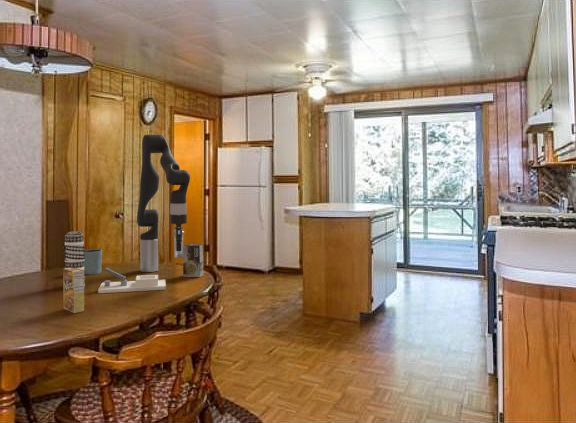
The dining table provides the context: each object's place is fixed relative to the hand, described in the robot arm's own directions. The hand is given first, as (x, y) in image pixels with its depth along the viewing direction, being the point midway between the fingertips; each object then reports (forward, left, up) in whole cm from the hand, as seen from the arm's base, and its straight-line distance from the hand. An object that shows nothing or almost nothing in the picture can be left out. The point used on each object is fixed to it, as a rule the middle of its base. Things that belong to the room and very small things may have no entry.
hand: (178, 250), depth 212 cm
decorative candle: (-10, -46, -17) cm, 50 cm away
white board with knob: (0, -20, -16) cm, 26 cm away
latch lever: (0, -28, -10) cm, 30 cm away
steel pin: (0, 0, -3) cm, 3 cm away
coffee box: (-21, +8, -17) cm, 28 cm away
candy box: (+34, -39, -17) cm, 54 cm away
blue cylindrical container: (-42, -43, -17) cm, 62 cm away
